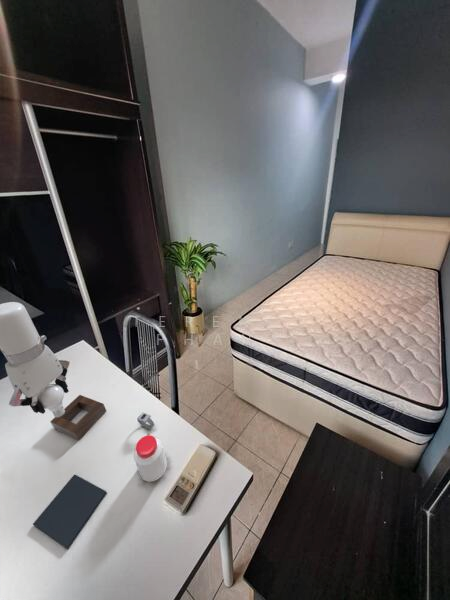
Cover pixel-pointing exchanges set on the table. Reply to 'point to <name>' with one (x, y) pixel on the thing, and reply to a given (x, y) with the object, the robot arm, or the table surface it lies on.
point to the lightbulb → (52, 399)
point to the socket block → (85, 423)
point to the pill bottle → (150, 458)
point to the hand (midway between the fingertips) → (52, 400)
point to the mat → (70, 510)
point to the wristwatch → (145, 420)
